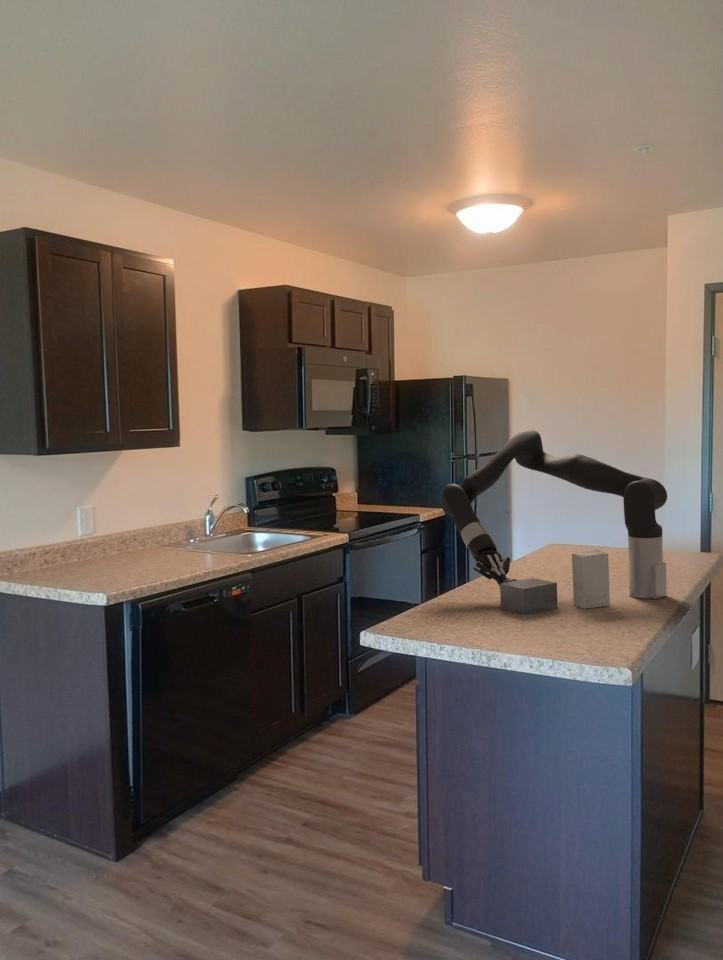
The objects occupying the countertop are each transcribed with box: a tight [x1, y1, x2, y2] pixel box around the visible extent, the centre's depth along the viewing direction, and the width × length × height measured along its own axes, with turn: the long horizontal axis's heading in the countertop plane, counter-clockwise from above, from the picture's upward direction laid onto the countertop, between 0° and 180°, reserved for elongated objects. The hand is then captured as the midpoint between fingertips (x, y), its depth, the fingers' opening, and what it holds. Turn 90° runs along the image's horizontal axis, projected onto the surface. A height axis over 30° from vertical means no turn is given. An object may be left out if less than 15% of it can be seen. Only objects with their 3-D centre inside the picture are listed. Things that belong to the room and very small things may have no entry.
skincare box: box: [571, 549, 611, 610], centre depth 214 cm, size 8×6×15 cm
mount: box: [499, 577, 559, 616], centre depth 215 cm, size 10×12×7 cm
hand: (506, 588), depth 222 cm, fingers closed
